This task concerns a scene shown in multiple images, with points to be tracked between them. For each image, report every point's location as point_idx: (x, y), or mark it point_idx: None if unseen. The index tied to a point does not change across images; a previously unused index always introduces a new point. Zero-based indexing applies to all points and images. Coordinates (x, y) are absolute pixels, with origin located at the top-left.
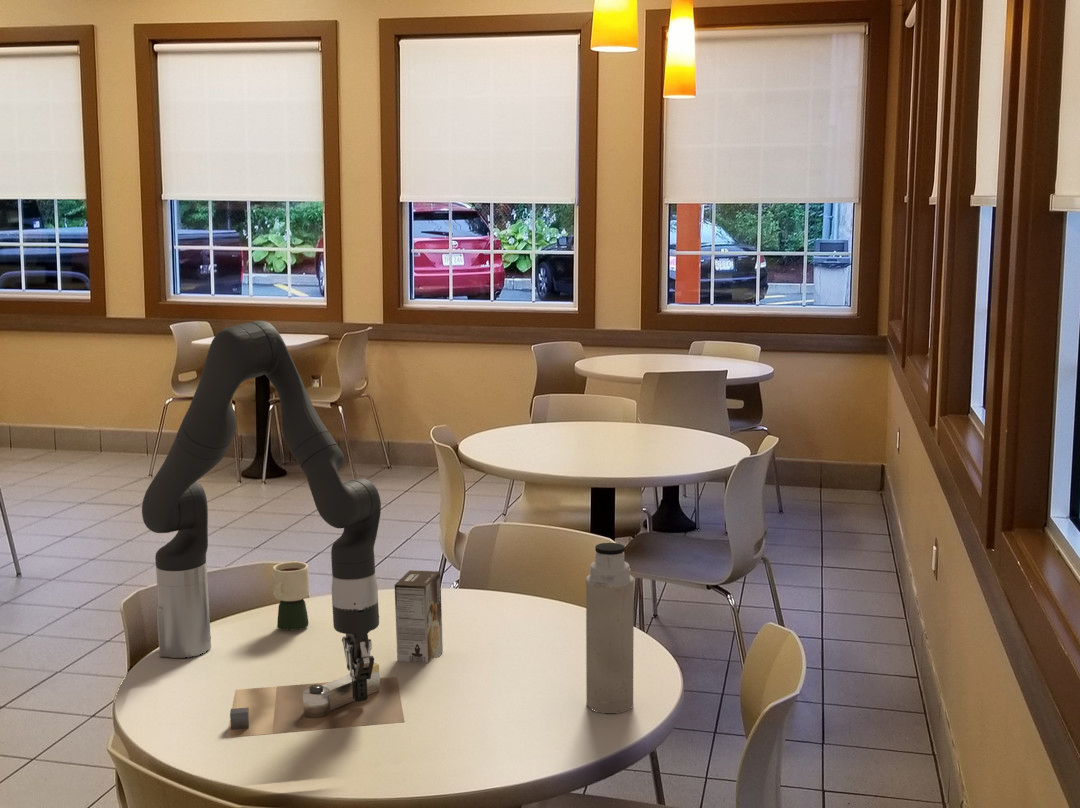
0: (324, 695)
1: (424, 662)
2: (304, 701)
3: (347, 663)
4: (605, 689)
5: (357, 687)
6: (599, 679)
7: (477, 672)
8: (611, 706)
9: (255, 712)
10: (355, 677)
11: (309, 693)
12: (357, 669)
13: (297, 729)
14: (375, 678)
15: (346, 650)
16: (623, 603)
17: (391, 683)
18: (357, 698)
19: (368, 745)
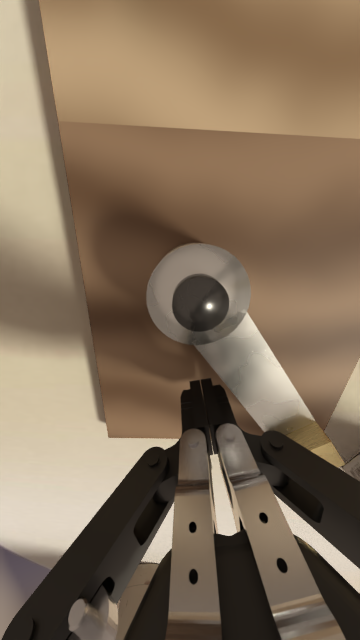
0: (157, 326)
1: (355, 476)
2: (176, 248)
3: (292, 454)
4: (118, 617)
5: (182, 419)
6: (118, 637)
7: (289, 508)
8: None
9: (263, 31)
10: (148, 464)
11: (187, 273)
12: (91, 536)
13: (86, 219)
14: None
15: (278, 589)
16: None
17: None
18: (185, 391)
19: (46, 371)
